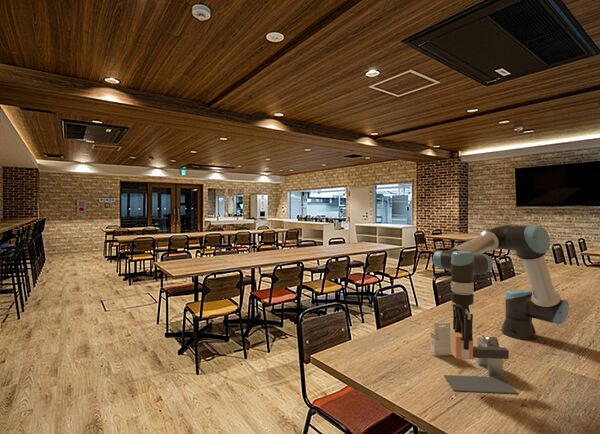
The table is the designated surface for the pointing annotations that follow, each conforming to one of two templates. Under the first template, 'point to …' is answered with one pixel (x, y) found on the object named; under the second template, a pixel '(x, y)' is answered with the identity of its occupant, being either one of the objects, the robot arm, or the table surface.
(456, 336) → the plug
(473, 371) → the table surface
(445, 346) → the ink box
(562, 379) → the table surface
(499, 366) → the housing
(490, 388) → the mat
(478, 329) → the table surface
